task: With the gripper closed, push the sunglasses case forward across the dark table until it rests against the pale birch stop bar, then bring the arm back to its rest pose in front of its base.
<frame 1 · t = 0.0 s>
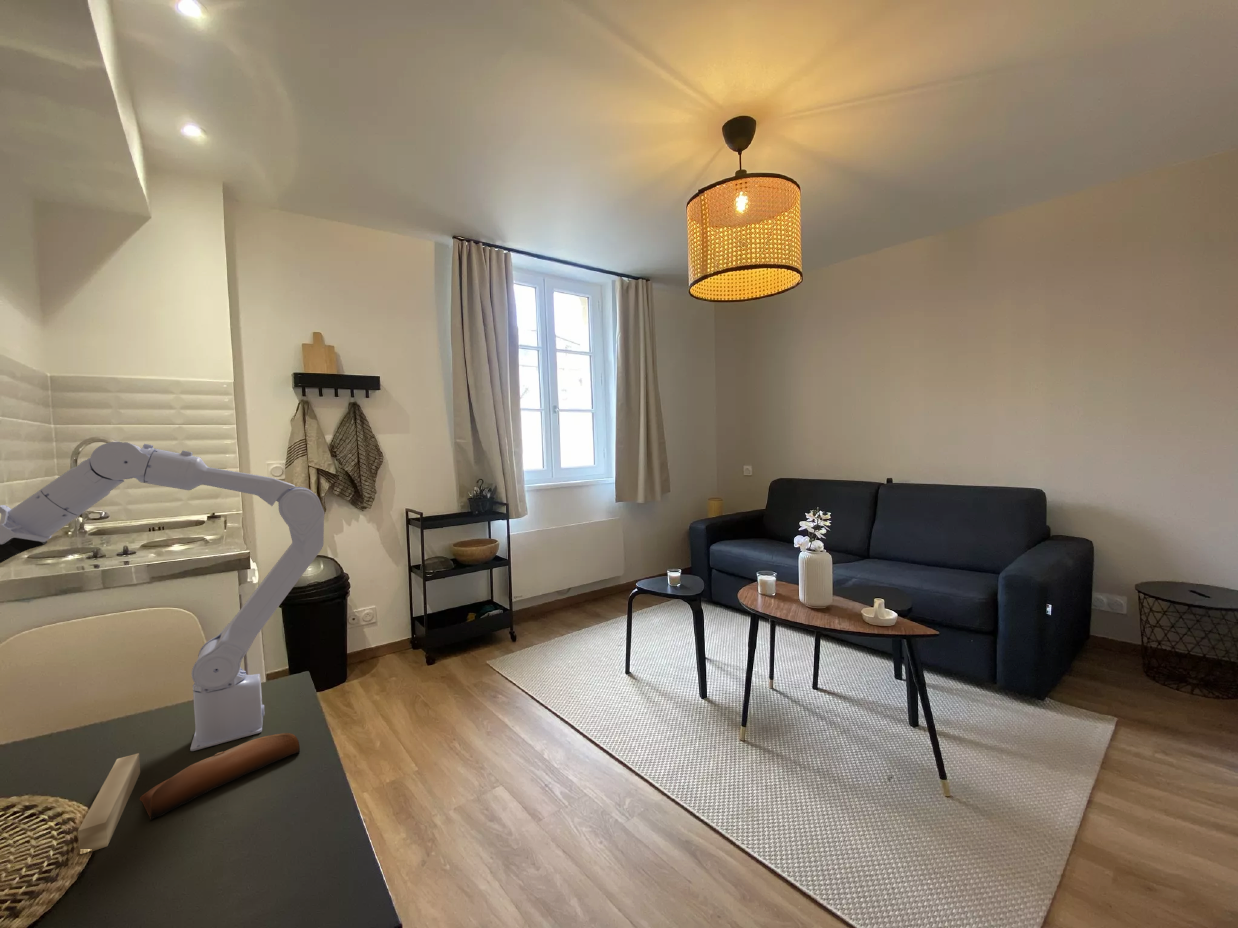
stop bar: (113, 808, 70), on the table
sunglasses case: (223, 780, 77), on the table
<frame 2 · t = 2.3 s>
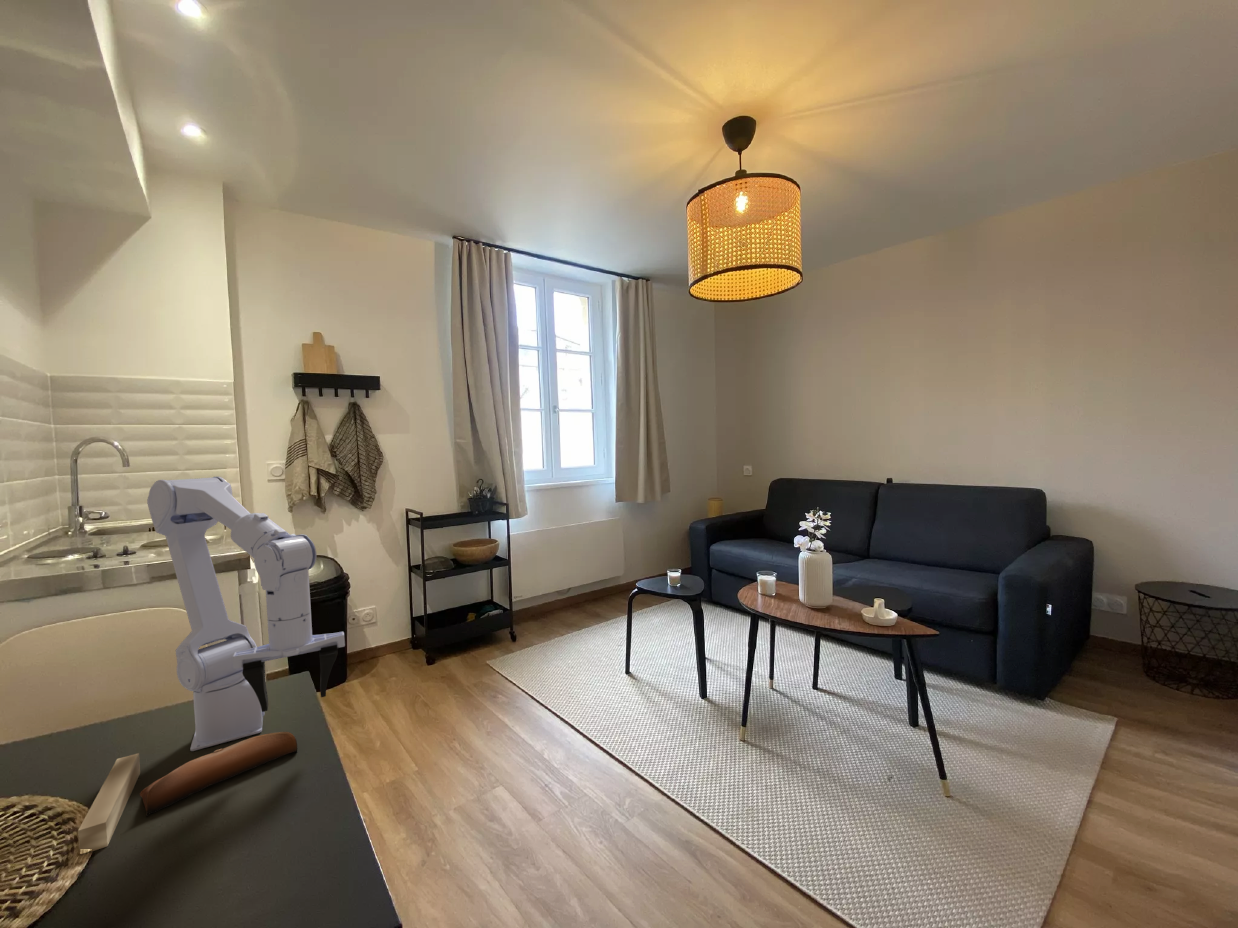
hand: (294, 701, 81), 8 cm above the table, tool pointing down, fingers open, 7 cm apart
sunglasses case: (221, 777, 77), on the table
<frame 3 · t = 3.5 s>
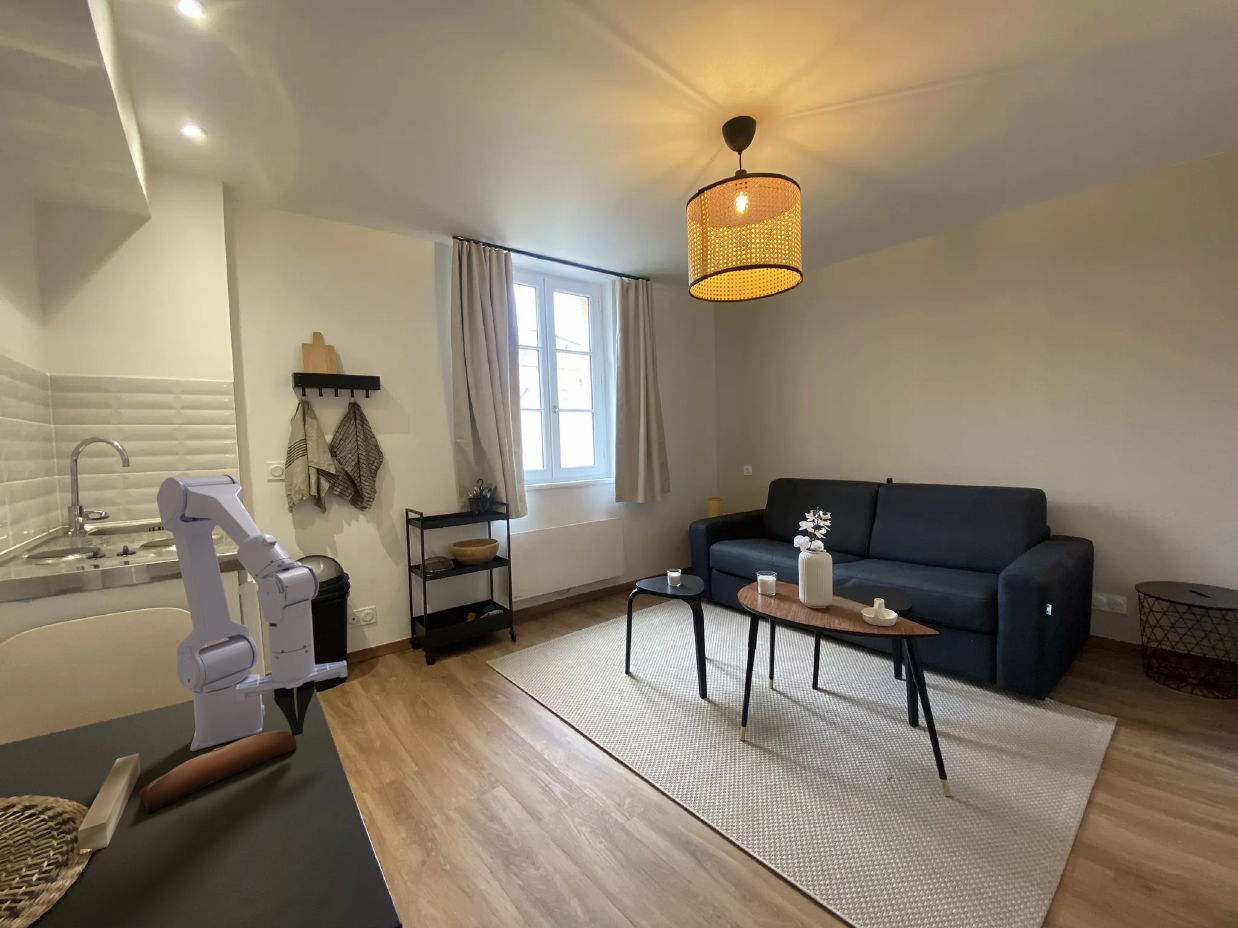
hand: (297, 732, 81), 4 cm above the table, tool pointing down, fingers closed
nothing on the table moved.
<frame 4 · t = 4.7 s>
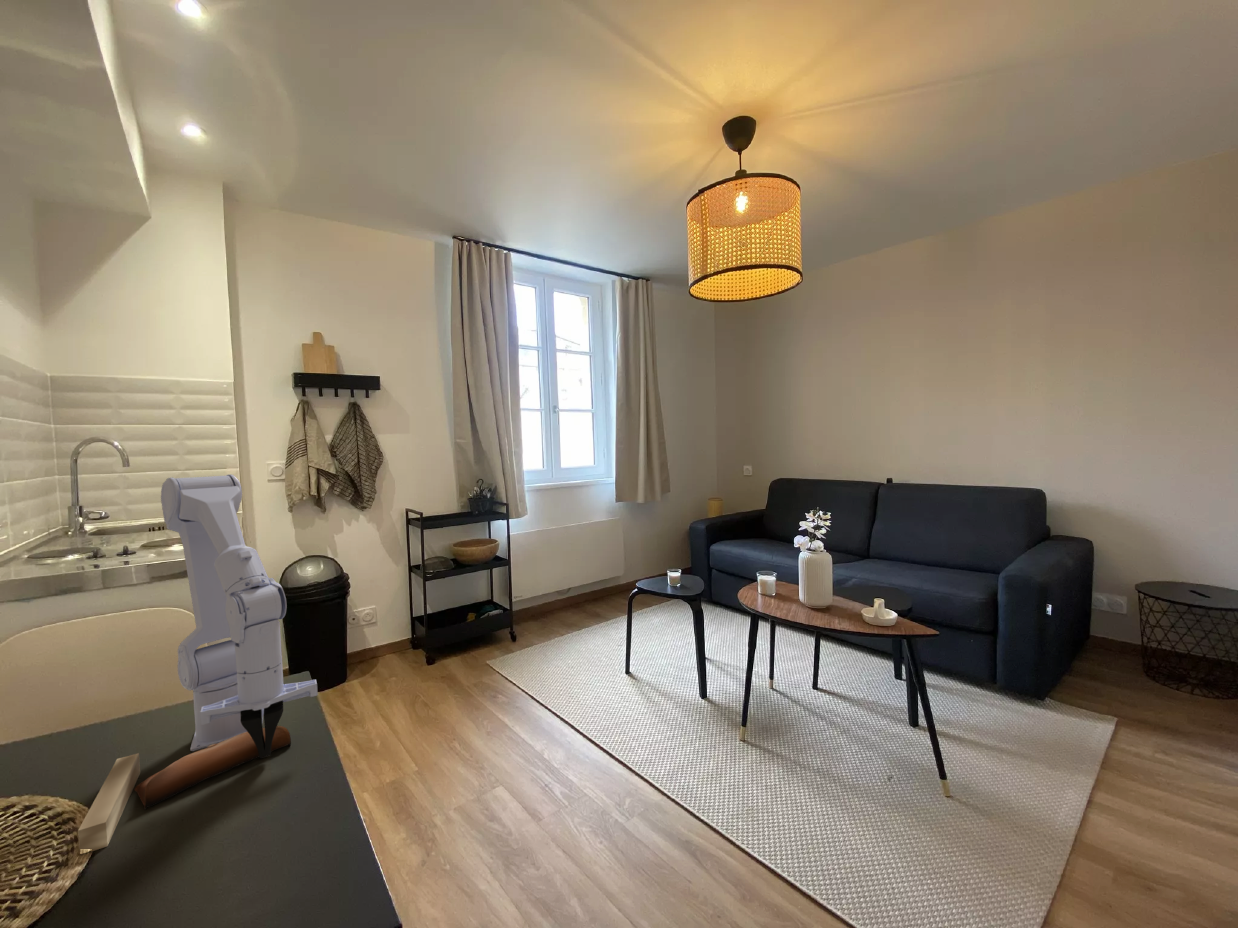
hand: (265, 753, 79), 1 cm above the table, tool pointing down, fingers closed
sunglasses case: (216, 771, 79), on the table, touching gripper
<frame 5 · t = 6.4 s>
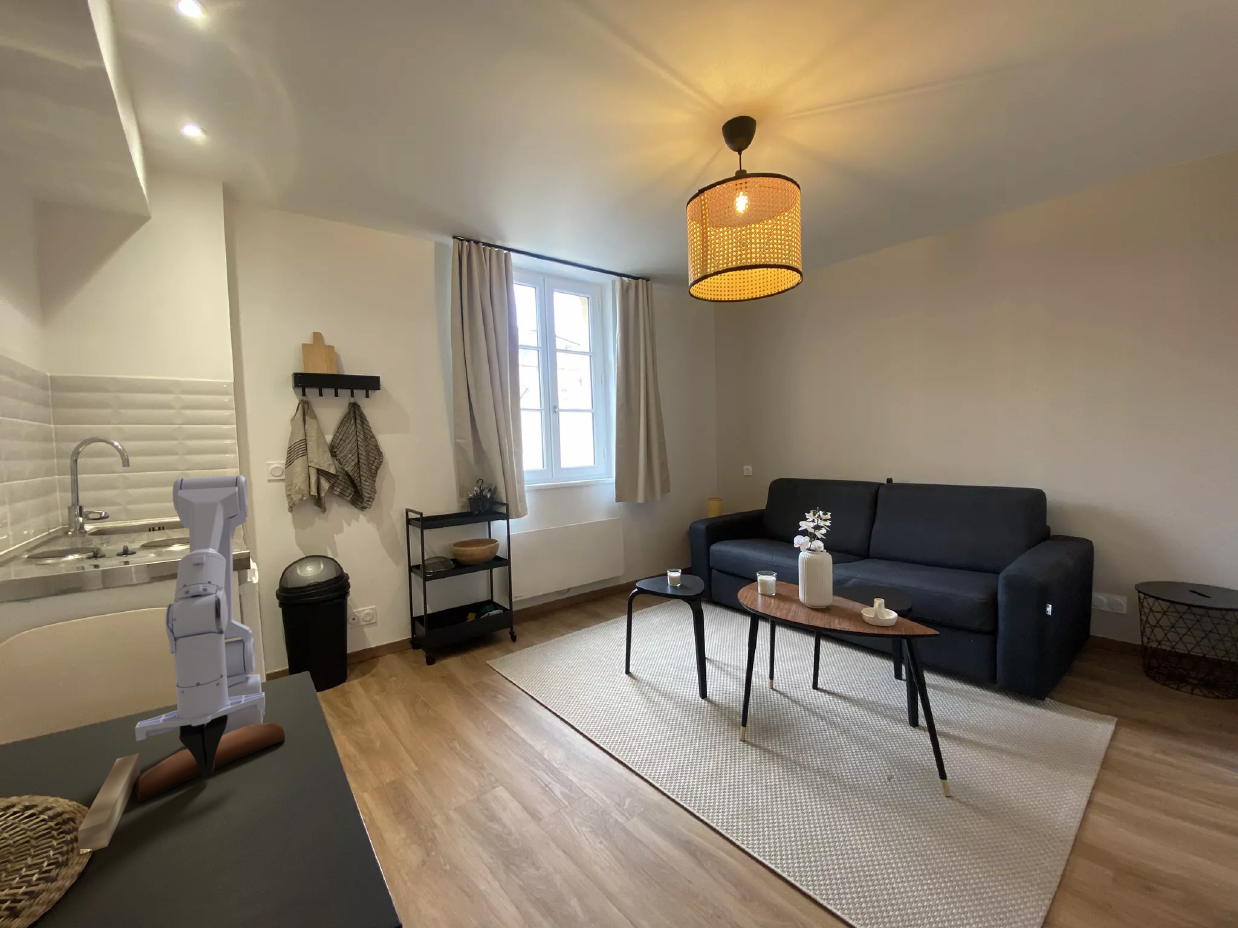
hand: (207, 770, 76), 1 cm above the table, tool pointing down, fingers closed
sunglasses case: (210, 766, 80), on the table
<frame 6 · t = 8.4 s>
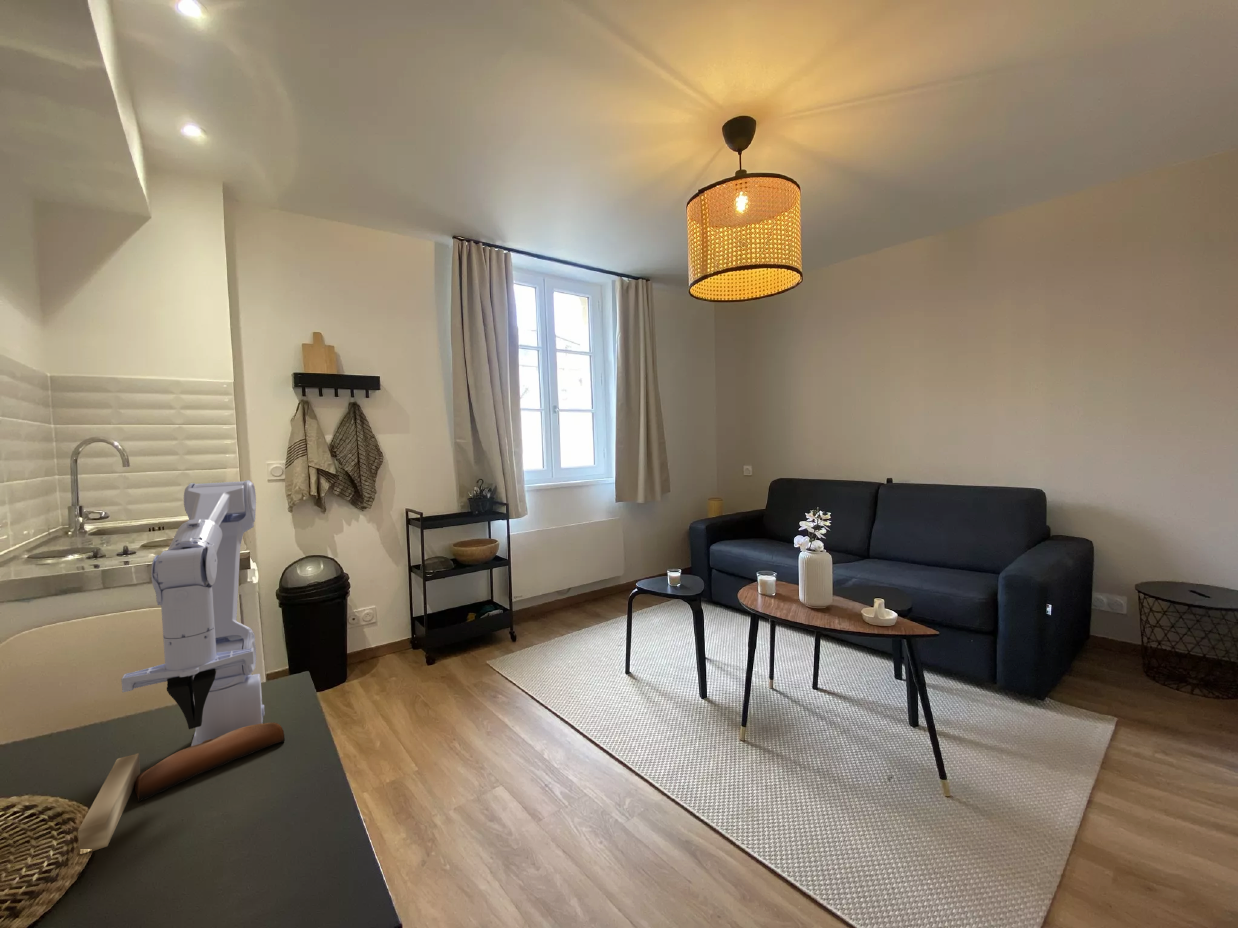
hand: (195, 724, 75), 8 cm above the table, tool pointing down, fingers closed
nothing on the table moved.
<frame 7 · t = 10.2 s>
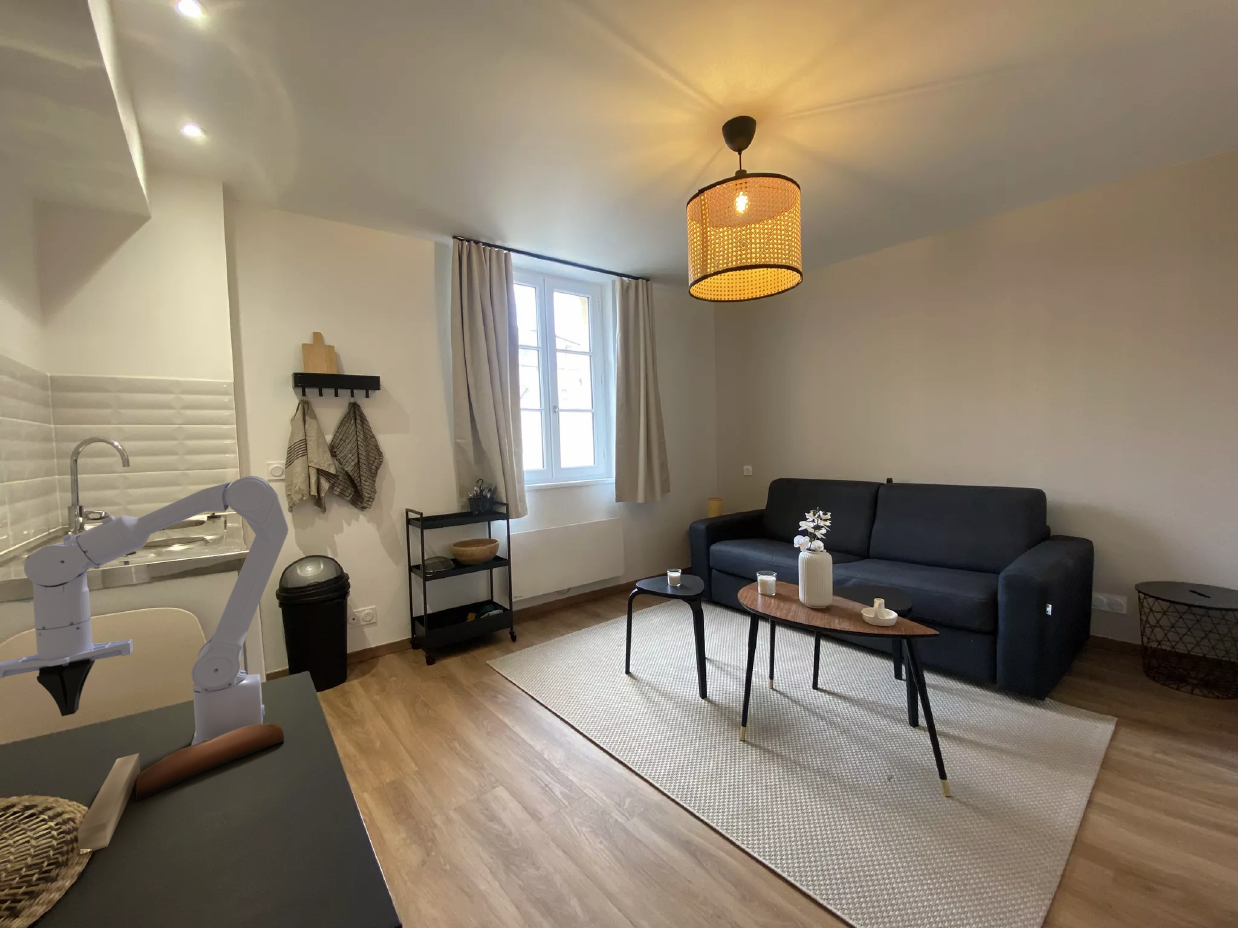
hand: (70, 712, 78), 9 cm above the table, tool pointing down, fingers closed
nothing on the table moved.
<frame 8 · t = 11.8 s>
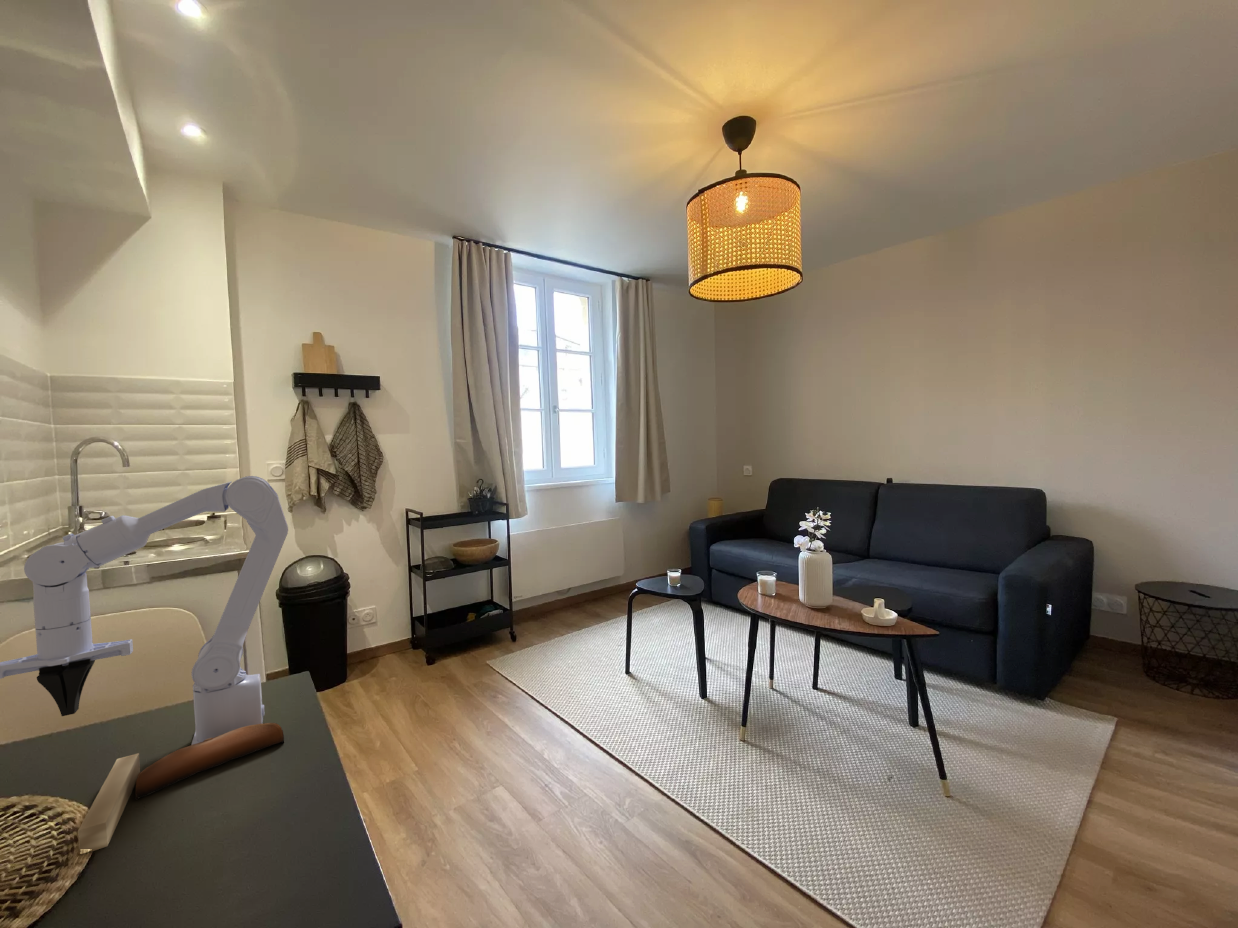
hand: (70, 712, 78), 9 cm above the table, tool pointing down, fingers closed
nothing on the table moved.
at the end: sunglasses case 0.3 cm from the target spot, on the table; sunglasses case moved 6.6 cm from its start; sunglasses case tilted 0° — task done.
